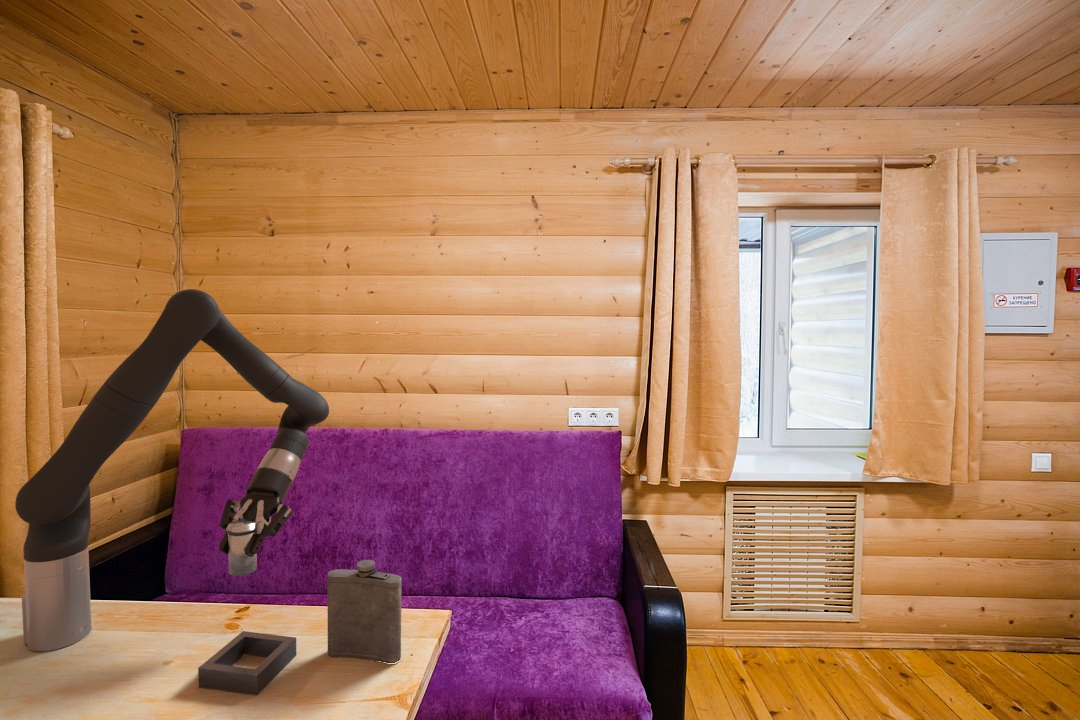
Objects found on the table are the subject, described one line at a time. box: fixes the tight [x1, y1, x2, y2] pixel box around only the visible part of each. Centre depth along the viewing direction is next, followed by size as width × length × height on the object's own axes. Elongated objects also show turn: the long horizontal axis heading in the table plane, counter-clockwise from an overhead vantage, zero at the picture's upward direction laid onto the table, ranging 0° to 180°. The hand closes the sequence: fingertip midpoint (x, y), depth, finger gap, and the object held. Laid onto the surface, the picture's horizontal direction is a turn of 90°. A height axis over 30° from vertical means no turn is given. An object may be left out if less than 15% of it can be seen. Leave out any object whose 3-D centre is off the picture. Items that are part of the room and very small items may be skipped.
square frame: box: [197, 630, 297, 696], centre depth 96 cm, size 11×11×4 cm
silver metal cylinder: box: [227, 518, 258, 577], centre depth 105 cm, size 5×5×10 cm
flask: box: [327, 559, 403, 663], centre depth 101 cm, size 4×14×18 cm, turn 82°
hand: (236, 553), depth 103 cm, fingers closed on silver metal cylinder, 4 cm apart
